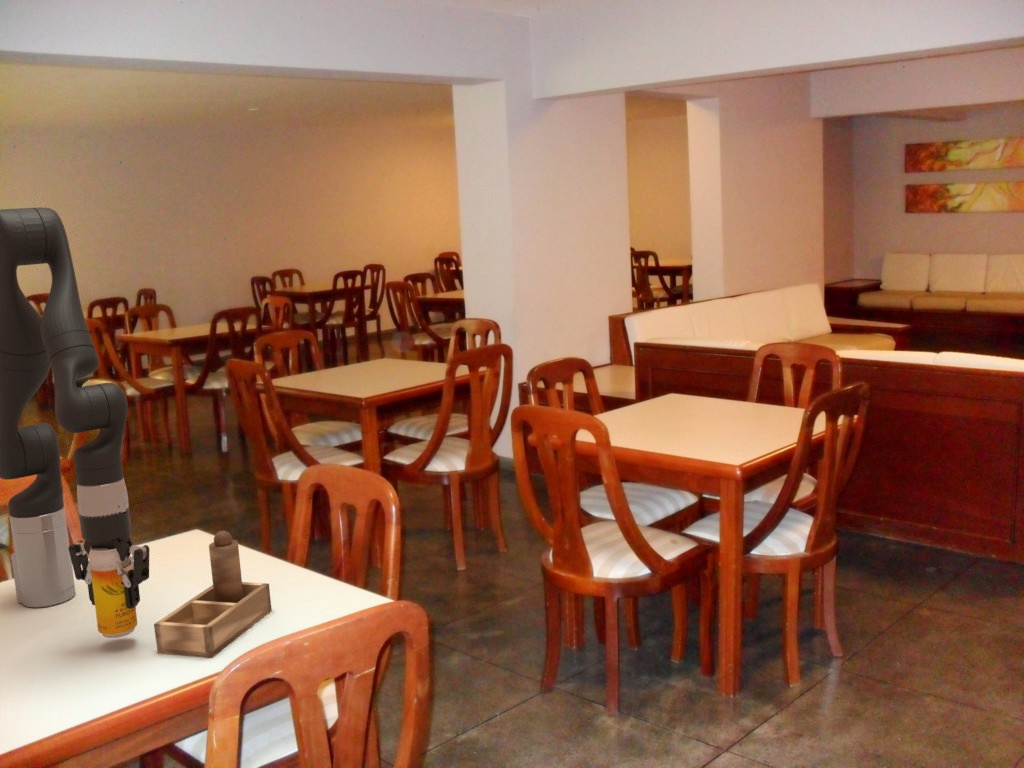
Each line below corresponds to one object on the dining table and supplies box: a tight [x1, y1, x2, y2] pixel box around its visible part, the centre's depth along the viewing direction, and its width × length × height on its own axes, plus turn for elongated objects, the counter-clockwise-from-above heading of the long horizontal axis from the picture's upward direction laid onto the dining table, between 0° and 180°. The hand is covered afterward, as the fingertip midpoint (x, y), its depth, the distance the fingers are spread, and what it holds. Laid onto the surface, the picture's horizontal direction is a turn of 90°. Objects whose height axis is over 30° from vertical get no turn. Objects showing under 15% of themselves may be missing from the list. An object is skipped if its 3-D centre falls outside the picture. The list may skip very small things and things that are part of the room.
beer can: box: [88, 546, 138, 639], centre depth 163 cm, size 6×6×15 cm
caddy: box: [153, 530, 272, 658], centre depth 167 cm, size 10×19×16 cm, turn 164°
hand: (115, 604), depth 163 cm, fingers closed on beer can, 6 cm apart
